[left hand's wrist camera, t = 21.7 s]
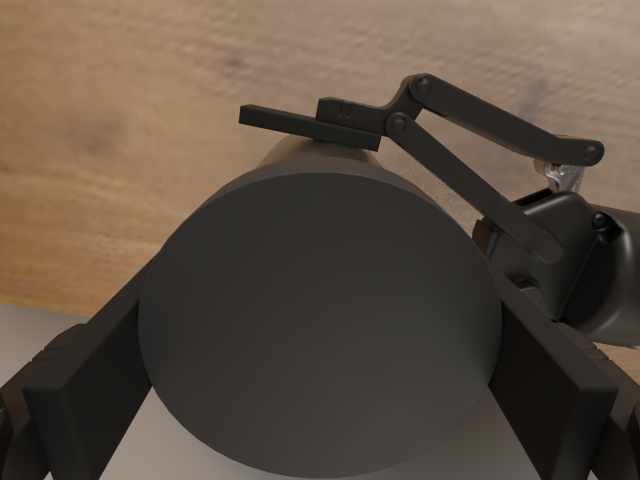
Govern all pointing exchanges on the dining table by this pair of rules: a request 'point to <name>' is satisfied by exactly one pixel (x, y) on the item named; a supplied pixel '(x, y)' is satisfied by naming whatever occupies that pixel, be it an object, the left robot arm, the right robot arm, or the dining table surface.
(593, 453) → the left robot arm
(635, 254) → the right robot arm
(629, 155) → the dining table surface
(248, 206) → the lid
